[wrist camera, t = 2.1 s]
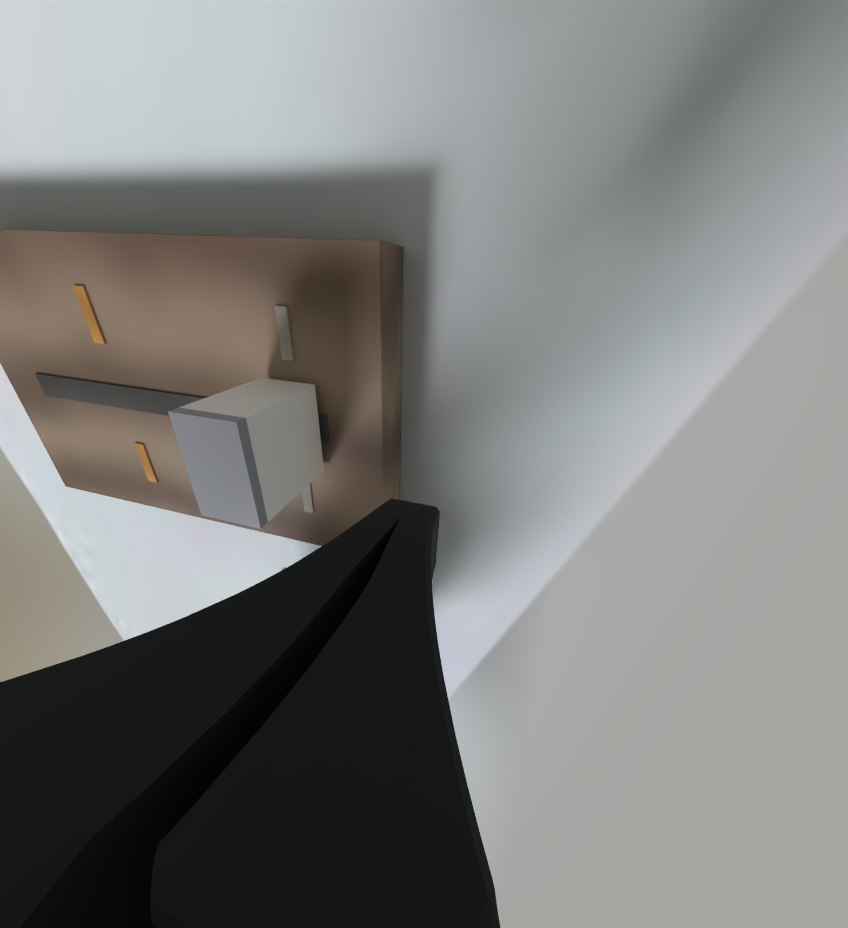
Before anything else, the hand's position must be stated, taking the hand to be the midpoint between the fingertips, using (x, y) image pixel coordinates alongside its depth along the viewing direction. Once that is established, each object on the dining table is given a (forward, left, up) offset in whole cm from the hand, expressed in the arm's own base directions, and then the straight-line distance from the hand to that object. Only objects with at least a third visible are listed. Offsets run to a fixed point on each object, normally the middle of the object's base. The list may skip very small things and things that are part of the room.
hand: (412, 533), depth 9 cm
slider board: (0, +14, -8) cm, 16 cm away
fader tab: (0, +7, -6) cm, 9 cm away
